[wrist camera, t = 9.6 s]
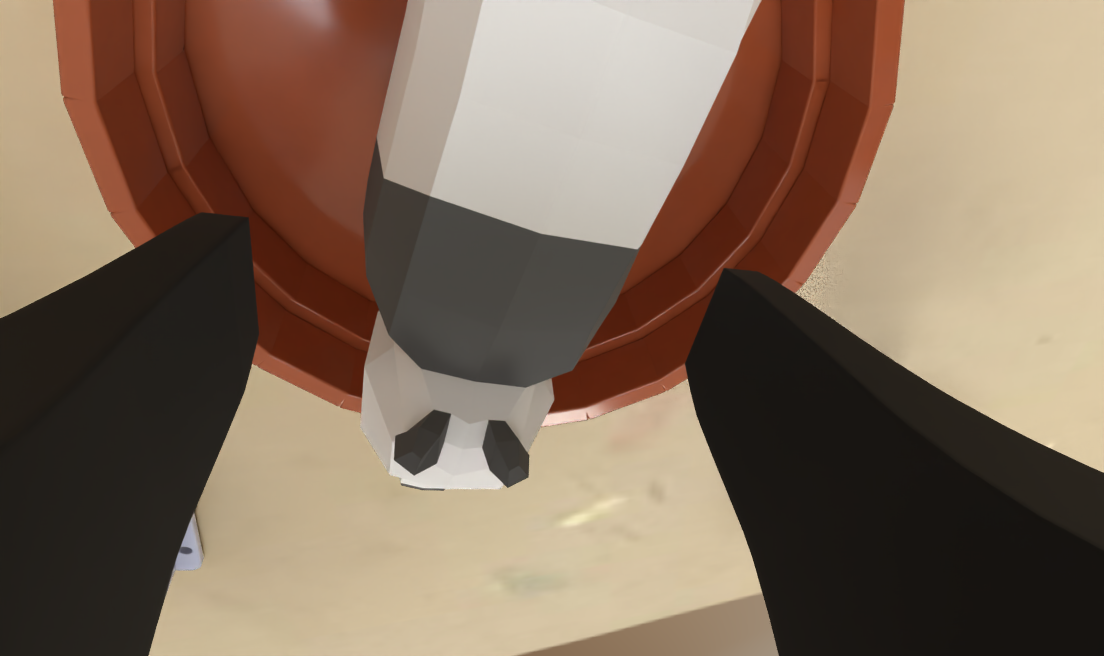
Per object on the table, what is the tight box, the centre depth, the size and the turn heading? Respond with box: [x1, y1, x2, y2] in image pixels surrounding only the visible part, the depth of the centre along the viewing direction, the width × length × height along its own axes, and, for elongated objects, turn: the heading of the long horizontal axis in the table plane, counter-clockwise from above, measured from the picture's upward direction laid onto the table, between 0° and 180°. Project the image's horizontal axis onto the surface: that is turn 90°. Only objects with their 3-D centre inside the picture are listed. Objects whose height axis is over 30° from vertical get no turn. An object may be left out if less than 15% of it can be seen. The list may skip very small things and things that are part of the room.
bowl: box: [53, 0, 905, 427], centre depth 16 cm, size 17×17×4 cm
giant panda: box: [360, 0, 761, 491], centre depth 14 cm, size 15×6×10 cm, turn 160°
